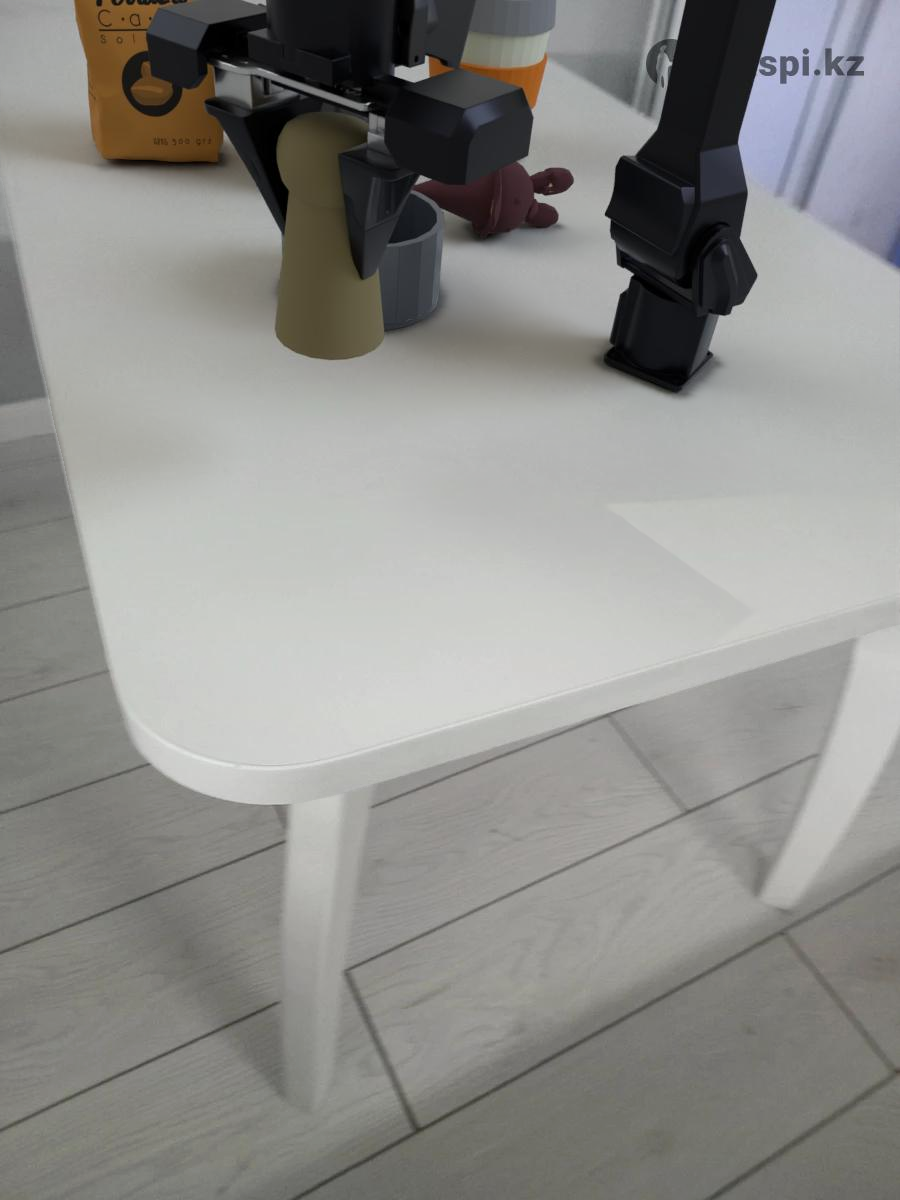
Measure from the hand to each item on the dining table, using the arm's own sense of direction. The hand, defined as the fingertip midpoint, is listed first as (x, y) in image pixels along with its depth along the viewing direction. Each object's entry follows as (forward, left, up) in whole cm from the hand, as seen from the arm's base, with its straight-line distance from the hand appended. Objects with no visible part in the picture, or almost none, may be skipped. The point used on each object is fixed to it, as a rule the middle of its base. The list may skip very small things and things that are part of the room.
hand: (332, 262), depth 48 cm
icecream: (+12, -36, -13) cm, 40 cm away
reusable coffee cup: (+24, -53, -13) cm, 59 cm away
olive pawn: (0, 0, -4) cm, 4 cm away
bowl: (+13, -19, -13) cm, 26 cm away
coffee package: (+45, -28, -13) cm, 54 cm away
